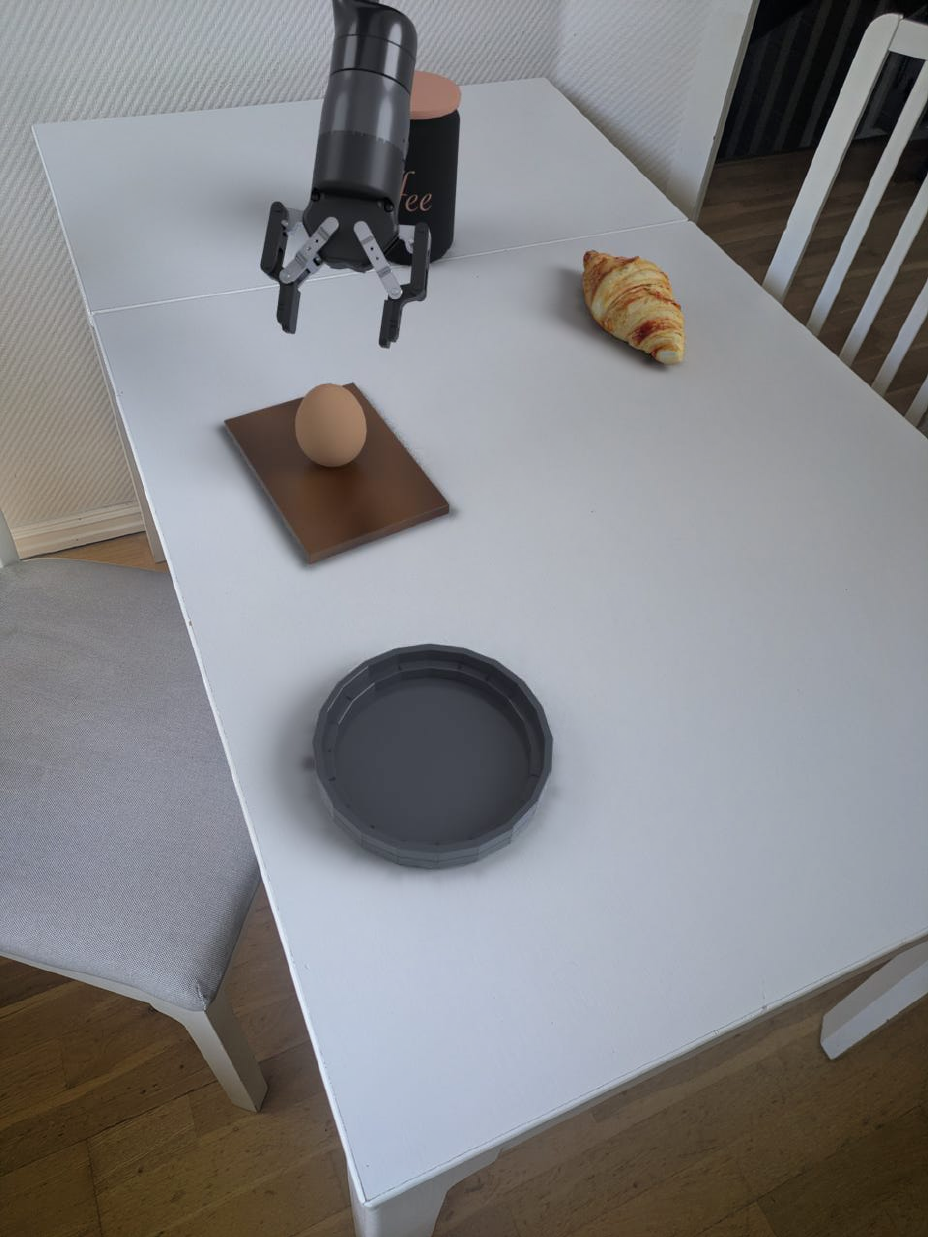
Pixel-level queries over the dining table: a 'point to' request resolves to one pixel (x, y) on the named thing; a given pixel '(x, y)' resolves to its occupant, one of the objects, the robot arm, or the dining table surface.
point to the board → (335, 481)
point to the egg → (330, 425)
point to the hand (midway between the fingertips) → (336, 339)
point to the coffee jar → (430, 164)
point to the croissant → (634, 304)
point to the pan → (432, 755)
